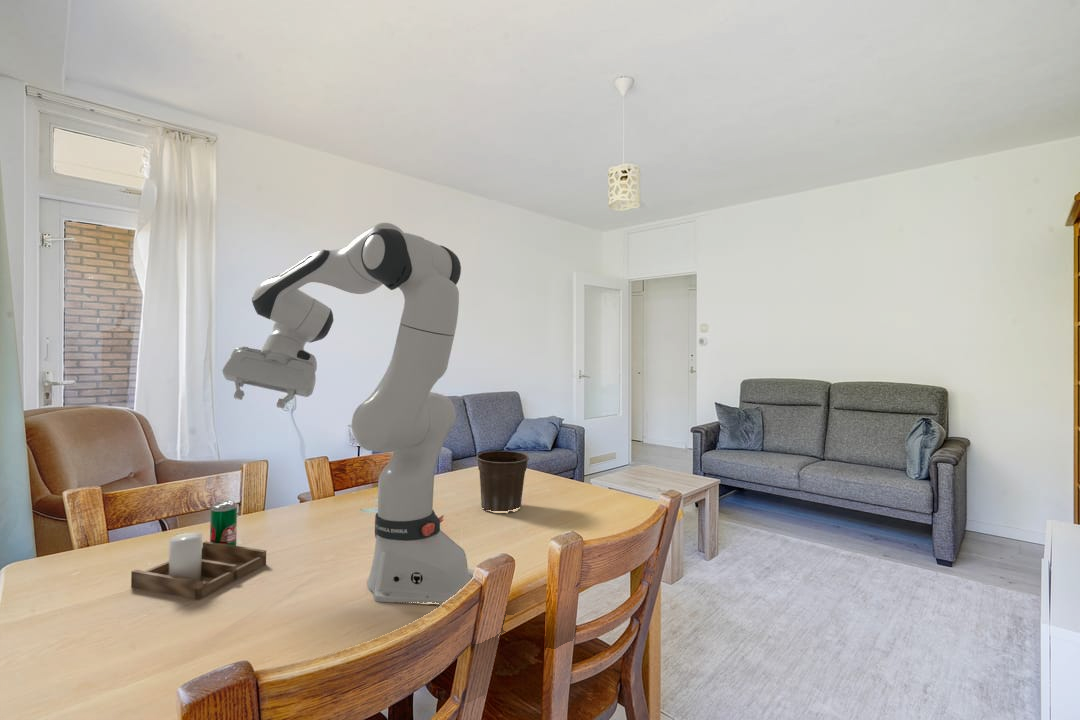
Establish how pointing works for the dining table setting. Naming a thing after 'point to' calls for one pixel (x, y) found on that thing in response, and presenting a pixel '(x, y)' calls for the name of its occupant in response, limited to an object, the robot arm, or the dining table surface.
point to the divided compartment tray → (203, 571)
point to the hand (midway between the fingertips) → (258, 402)
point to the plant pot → (501, 479)
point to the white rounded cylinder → (186, 556)
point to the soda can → (223, 523)
